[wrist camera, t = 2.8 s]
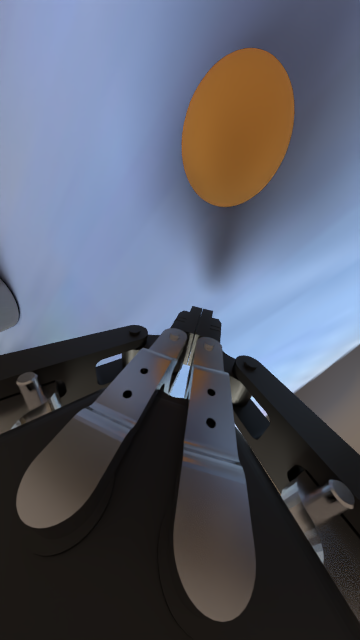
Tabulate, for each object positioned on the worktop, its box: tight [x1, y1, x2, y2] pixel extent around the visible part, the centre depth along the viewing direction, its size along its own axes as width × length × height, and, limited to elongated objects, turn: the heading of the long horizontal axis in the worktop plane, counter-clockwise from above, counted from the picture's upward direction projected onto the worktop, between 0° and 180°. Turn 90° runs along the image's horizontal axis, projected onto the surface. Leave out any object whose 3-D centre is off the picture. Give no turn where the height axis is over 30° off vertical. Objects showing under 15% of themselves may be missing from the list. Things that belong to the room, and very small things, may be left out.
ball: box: [182, 48, 294, 207], centre depth 8 cm, size 5×5×5 cm
